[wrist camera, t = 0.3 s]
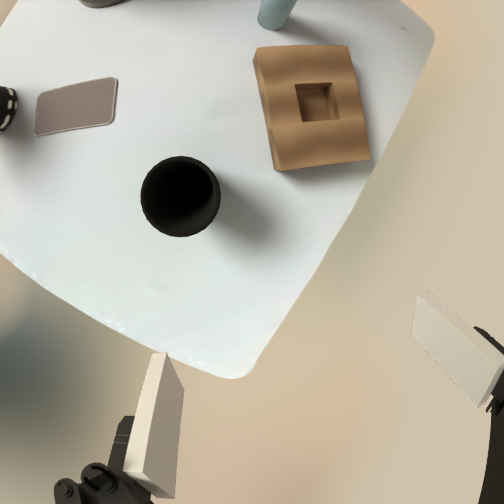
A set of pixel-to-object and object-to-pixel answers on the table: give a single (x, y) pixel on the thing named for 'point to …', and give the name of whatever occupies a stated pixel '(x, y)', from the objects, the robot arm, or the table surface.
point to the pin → (275, 13)
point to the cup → (180, 196)
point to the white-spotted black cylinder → (7, 107)
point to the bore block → (311, 105)
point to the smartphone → (75, 106)
